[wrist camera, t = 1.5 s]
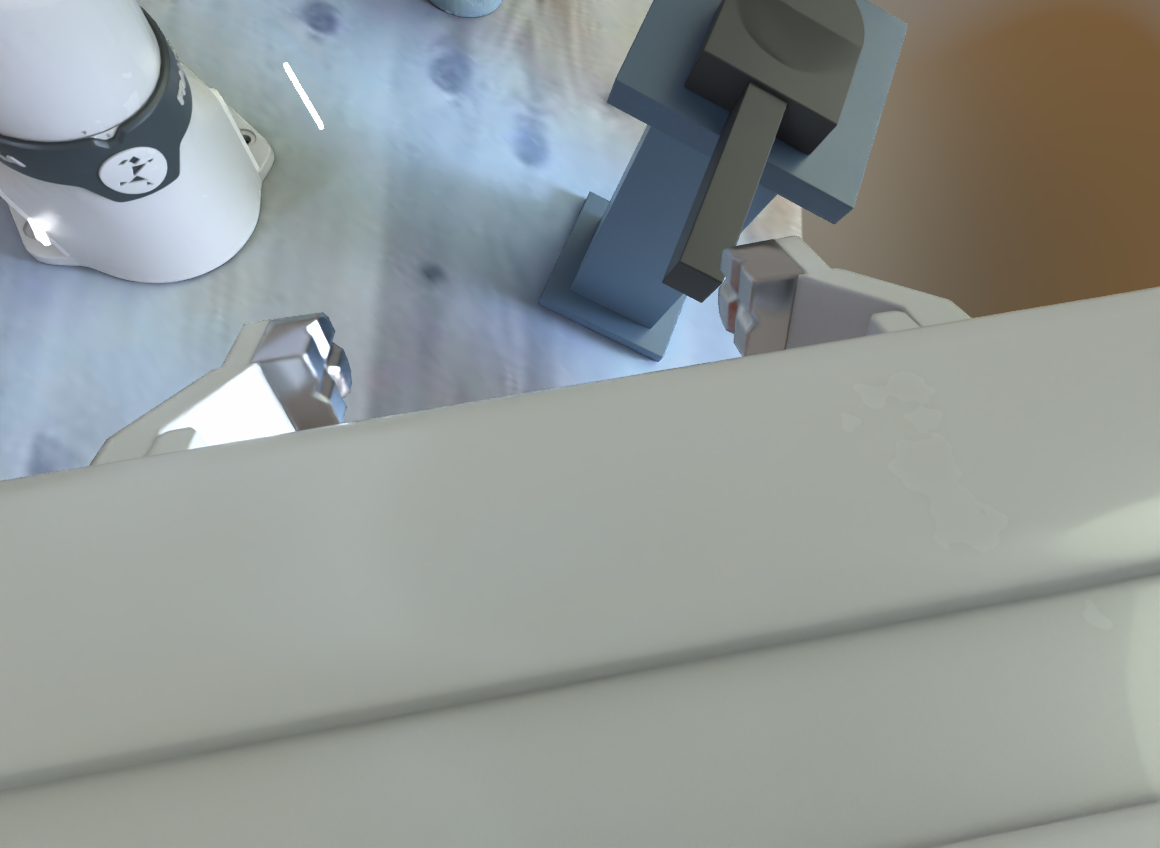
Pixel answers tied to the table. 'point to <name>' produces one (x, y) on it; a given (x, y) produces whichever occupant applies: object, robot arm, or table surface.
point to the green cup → (468, 7)
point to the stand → (697, 174)
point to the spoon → (761, 112)
